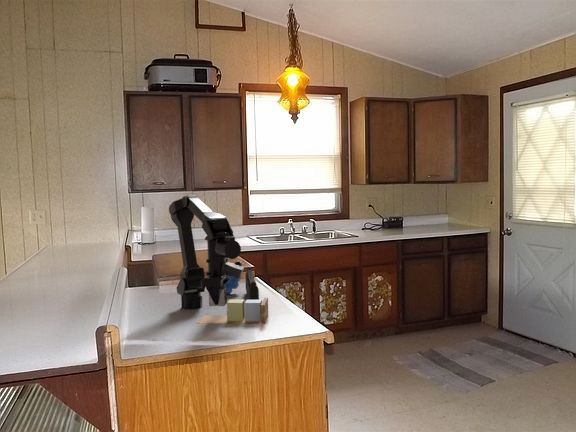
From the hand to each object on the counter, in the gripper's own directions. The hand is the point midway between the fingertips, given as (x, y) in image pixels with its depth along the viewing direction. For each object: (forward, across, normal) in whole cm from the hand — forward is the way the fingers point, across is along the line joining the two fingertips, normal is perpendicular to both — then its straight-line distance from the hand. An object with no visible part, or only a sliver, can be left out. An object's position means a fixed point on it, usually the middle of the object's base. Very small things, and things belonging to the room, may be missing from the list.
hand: (218, 302), depth 152 cm
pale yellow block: (+5, 0, -6) cm, 8 cm away
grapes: (+7, +38, +5) cm, 39 cm away
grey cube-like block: (0, 0, 0) cm, 0 cm away
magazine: (+7, +26, -7) cm, 28 cm away
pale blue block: (+5, 0, -12) cm, 13 cm away
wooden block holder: (+6, 0, -5) cm, 8 cm away
